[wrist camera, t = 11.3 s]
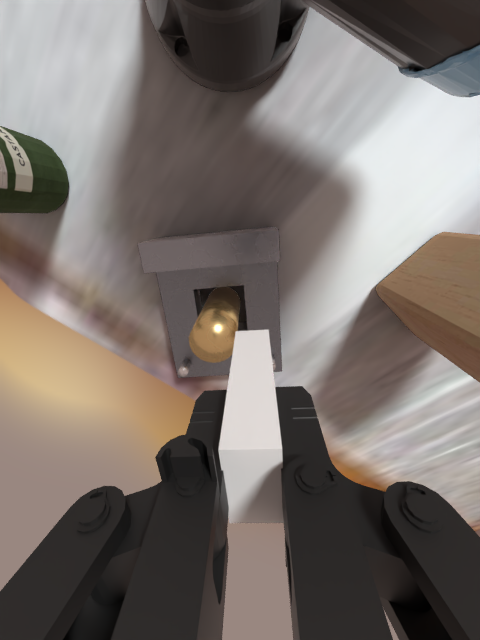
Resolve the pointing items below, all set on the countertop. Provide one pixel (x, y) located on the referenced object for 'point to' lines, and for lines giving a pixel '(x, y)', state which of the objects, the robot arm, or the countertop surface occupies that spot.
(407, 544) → the robot arm
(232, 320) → the brass cylinder
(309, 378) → the countertop surface
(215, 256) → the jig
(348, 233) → the countertop surface
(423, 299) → the wooden block
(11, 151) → the wine bottle
